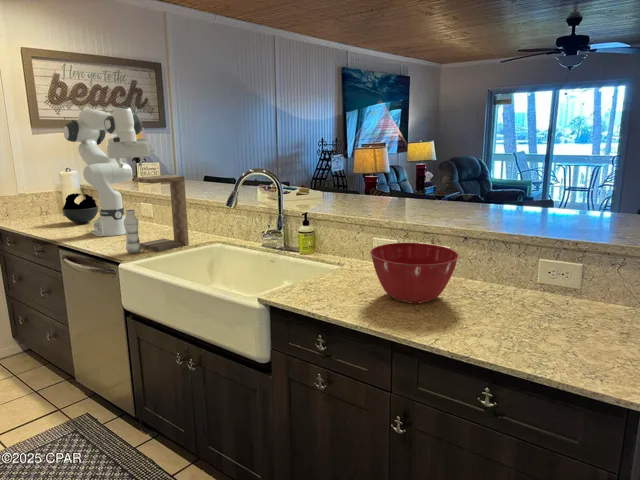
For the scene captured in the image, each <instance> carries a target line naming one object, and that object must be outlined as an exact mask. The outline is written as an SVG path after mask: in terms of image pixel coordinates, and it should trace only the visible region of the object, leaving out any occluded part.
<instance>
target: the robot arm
mask: <svg viewBox="0 0 640 480" xmlns="http://www.w3.org/2000/svg"><path fill="white" fill-rule="evenodd" d="M143 126H144V125H143V120H141V118H140V117H139V116H138V115H136V114H133V112H132V109H131V107H129V106H121V105H120V106H115V107H114V108H113V112H112V113H109V112H107V111H102V110H100V109H95V108H86V109H82V110H81V111H80V112H79V114H78V120H75V119H72V120H71V121H69V122H67V123H66V124H65V125H64V127H63V135H64V138H65V139H66V140H67V141H68V142H73V143H75V142H77V143H78V142H79V143H80V144H79V145H78V148H77V150H78V153H79V156H80V157H81V158H82V161H84V163H85V164H86V165H85V167H84V169H83V171H82V175H83V178H84V180H85V181H86V183H88V184H90V186H92V187H93V188H94V189H95V190H96V192H97V194H98V199H99V202H100V209H99V210H98V212H99V216H98V218H97V219H96V220H95V222H94V223H93V228H94V229H92V230H90V234H93V235H94V236H97V237H112V236H113V237H114V236H121V235H122V236H123V235H126V231H125V227H124V219H125V217H126V216H125V210H124V206H123V198H122V194H121V193H120V192H119V191H118V190H117V189H113V188H112V186H111V185H112V184H118V183H119V184H120V183H124V182H127V181H131V179H132V176H133V169H132V167H131V166H130V164H129V163H125V162H121V161H120V160H121V159H130V158H132V159H133V158H139V160H140V161H139V162H138V163H137V165H138V167H142V166H143V161H144V158H148V157H150V155H151V152H150V147H149V141H148V139H146V138H137V135H139V134H140V133H141V131H143ZM106 133H108V134H110V135H116V136H113V137H111V138H109V139H107V143H108V145H107V147H106V153H105V152H104V151H103V150H102V149H101V148H100V146H98V145H101V144H102V142H103V141H104V140H105V138H106Z"/></svg>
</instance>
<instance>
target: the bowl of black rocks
mask: <svg viewBox="0 0 640 480" xmlns="http://www.w3.org/2000/svg"><path fill="white" fill-rule="evenodd" d="M81 195H82V193H77V192H76V193H70V194H68V195H67V196H66V197H65V203H64V205H63V208H62V213H63V214H64V216H65V217H66V218H67V220H69V221H71V222H72V223H74V224H86V223H90V222H91V221H92V220H94V219H95V218H96V216H97V215H98V212H99V206H98V205H97V203H96V200H95V199H94V197H93V196H91V195H88V194H86V193H84V194H83V197H84V198H85V199H82V200H81V201H80V202H79V203H77V202H75V200H76V199H77V198H78V197H79V196H81Z"/></svg>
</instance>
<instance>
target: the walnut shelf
mask: <svg viewBox="0 0 640 480" xmlns="http://www.w3.org/2000/svg"><path fill="white" fill-rule="evenodd" d="M133 181H134V183H139V184H140V183H142V184H150V185H151V184H152V185H153V184H162V183H169V189H170V201H171V202H170V203H171V205H170V206H171V215H172V216H171V217H172V218H171V219H172V233H173V240H172V239H169V238H168V239H167V238H160V239H155V240H149V241H145V242H140V244H141V249H145V250H149V251H154V252H158V253H161V252H165V251H169V250H173V249H174V248H175V249H179V248H183V246H184V247H188V246H189V244H190V243H189V241H190V239H189V228H188V215H187V214H188V213H187V212H188V211H187V200H186V199H187V198H186V197H187V196H186V183H185V176H183V175H172V174H171V175H170V174H165V175H164V174H163V175H153V176H152V175H151V176H139V177H137V176H136V177H133ZM178 247H179V248H178Z"/></svg>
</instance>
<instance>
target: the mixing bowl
mask: <svg viewBox="0 0 640 480" xmlns="http://www.w3.org/2000/svg"><path fill="white" fill-rule="evenodd" d="M369 254H370V256H371V259H372V264H373V268H374V271H375V274H376V277H377V278H378V280H379V283H380V285H381V287H382V288H383V290H384V292H385V293H386V294H387V295H388V296H390V297H392V298H393V299H394V298H395V299H397V300H396V301H398V300H400V301H399V302H401V301H404V302H403V303H405V302H412V303H411V304H420V303H419V302H426V301H429V302H431V301H433V300H434V299H436V298H438V297H439V296H440V295H441V294H442V293H443V292H444V291H445V288H446V287H447V285H448V284H449V281H450V279H451V277H452V275H453V273H454V270H455V267H456V266H457V262H458V259H459V257H460V255H459V253H458V252H457V251H455V250H454V249H452V248H450V247H445V246H443V245H437V244H431V243H430V244H429V243H419V242H394V243H387V244H386V243H385V244H380V245H378V246H375V247H373V248H371V249H370V252H369ZM395 299H394V300H395ZM430 300H431V301H430ZM426 303H427V302H426Z"/></svg>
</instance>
